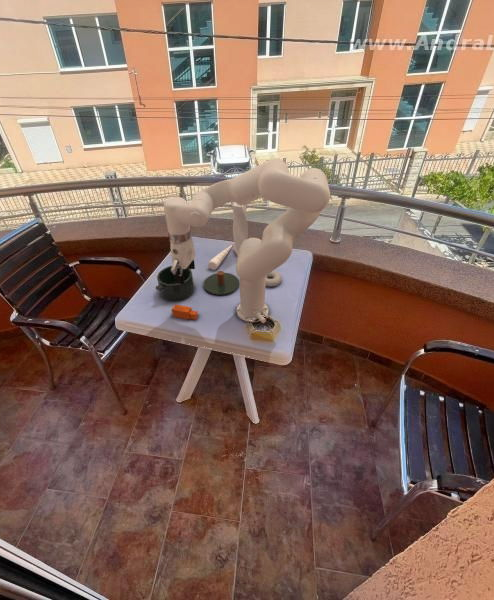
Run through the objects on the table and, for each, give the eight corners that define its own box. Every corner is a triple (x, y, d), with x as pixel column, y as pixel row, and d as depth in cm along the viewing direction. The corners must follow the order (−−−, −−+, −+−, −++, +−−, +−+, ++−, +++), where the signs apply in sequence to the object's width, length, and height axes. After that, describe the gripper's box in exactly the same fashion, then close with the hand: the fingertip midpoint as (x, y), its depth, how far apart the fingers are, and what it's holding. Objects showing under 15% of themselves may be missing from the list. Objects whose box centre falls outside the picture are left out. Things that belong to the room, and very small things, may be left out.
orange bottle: (198, 315, 127) (197, 308, 125) (195, 320, 125) (194, 313, 122) (174, 310, 130) (173, 303, 127) (171, 316, 127) (169, 309, 125)
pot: (205, 284, 142) (203, 269, 137) (172, 309, 131) (169, 293, 125) (181, 274, 149) (179, 258, 144) (149, 296, 138) (145, 280, 133)
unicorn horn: (238, 247, 165) (238, 238, 162) (216, 271, 149) (215, 263, 146) (230, 245, 167) (230, 237, 164) (207, 269, 151) (206, 260, 148)
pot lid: (246, 282, 142) (245, 269, 138) (224, 300, 133) (223, 288, 129) (219, 270, 150) (218, 258, 146) (196, 287, 141) (195, 275, 137)
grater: (234, 257, 157) (232, 203, 139) (231, 250, 163) (228, 196, 145) (250, 254, 159) (250, 200, 141) (245, 247, 164) (245, 194, 146)
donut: (280, 289, 137) (282, 275, 144) (281, 283, 135) (283, 269, 142) (257, 287, 139) (260, 273, 146) (257, 281, 137) (260, 267, 144)
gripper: (178, 249, 102) (185, 291, 113) (199, 224, 114) (203, 264, 125) (158, 246, 104) (166, 287, 115) (180, 222, 116) (186, 261, 127)
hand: (185, 275), depth 120 cm, fingers open, 9 cm apart
